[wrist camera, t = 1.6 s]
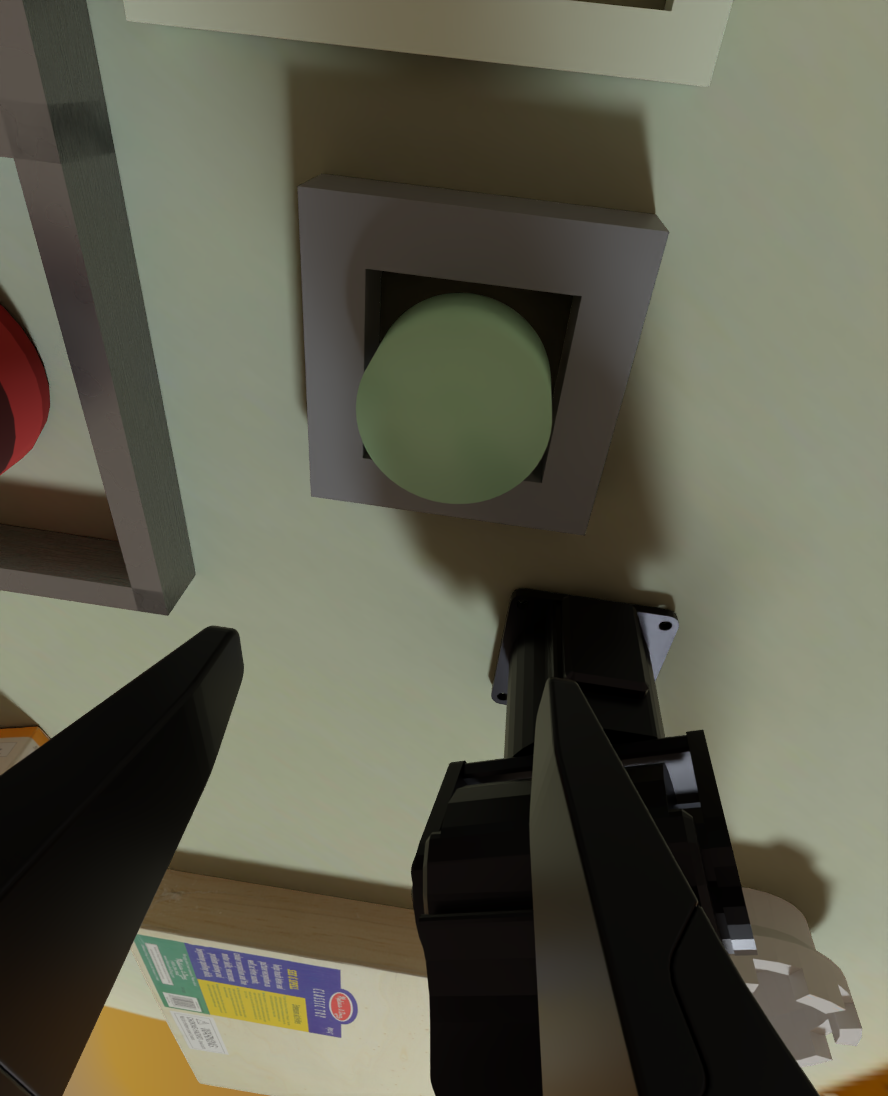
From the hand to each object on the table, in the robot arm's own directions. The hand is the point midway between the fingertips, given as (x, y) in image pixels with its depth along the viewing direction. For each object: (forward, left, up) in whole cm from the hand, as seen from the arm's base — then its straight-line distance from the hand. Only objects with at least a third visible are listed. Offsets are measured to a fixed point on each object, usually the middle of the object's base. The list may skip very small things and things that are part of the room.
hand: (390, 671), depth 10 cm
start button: (0, 0, -11) cm, 11 cm away
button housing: (0, 0, -13) cm, 13 cm away
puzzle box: (-56, +6, -14) cm, 58 cm away
